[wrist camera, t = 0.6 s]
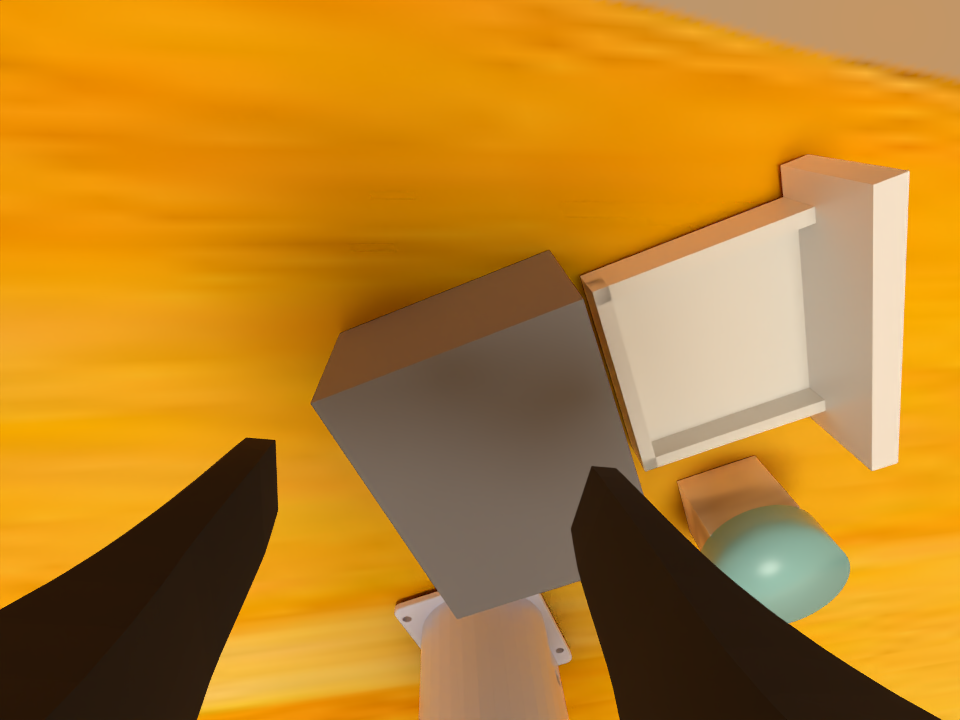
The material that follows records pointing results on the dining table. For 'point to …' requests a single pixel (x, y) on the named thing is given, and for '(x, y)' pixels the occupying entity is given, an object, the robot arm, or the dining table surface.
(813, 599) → the disc
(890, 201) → the tray
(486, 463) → the block
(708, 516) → the pedestal
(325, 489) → the dining table surface
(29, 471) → the dining table surface
